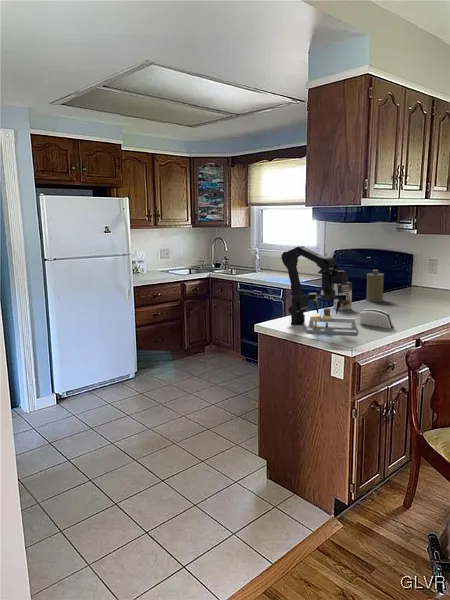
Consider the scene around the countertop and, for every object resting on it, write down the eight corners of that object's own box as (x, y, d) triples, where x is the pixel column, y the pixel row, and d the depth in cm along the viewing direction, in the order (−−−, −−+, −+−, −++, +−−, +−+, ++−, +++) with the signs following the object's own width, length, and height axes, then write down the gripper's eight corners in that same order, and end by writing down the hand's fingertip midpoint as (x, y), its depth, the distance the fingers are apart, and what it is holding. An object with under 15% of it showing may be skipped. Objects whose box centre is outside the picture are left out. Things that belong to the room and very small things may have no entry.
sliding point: (322, 327, 226) (322, 309, 224) (323, 324, 232) (323, 306, 230) (330, 327, 225) (330, 309, 223) (331, 324, 231) (331, 307, 229)
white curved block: (394, 326, 231) (392, 309, 227) (390, 331, 228) (388, 314, 224) (363, 321, 243) (361, 305, 238) (359, 326, 240) (357, 310, 236)
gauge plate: (306, 332, 225) (306, 318, 224) (309, 326, 236) (309, 312, 235) (356, 335, 218) (356, 320, 216) (356, 328, 229) (357, 314, 228)
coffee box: (337, 310, 271) (338, 283, 268) (333, 308, 277) (333, 282, 274) (351, 309, 273) (352, 282, 269) (347, 306, 279) (347, 281, 276)
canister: (383, 302, 288) (384, 271, 284) (366, 301, 290) (367, 271, 286) (382, 298, 298) (383, 268, 294) (365, 298, 301) (366, 268, 297)
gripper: (306, 285, 219) (306, 316, 223) (346, 286, 214) (345, 318, 217) (309, 281, 230) (309, 311, 233) (347, 282, 224) (346, 312, 227)
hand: (327, 313), depth 227 cm, fingers open, 9 cm apart
